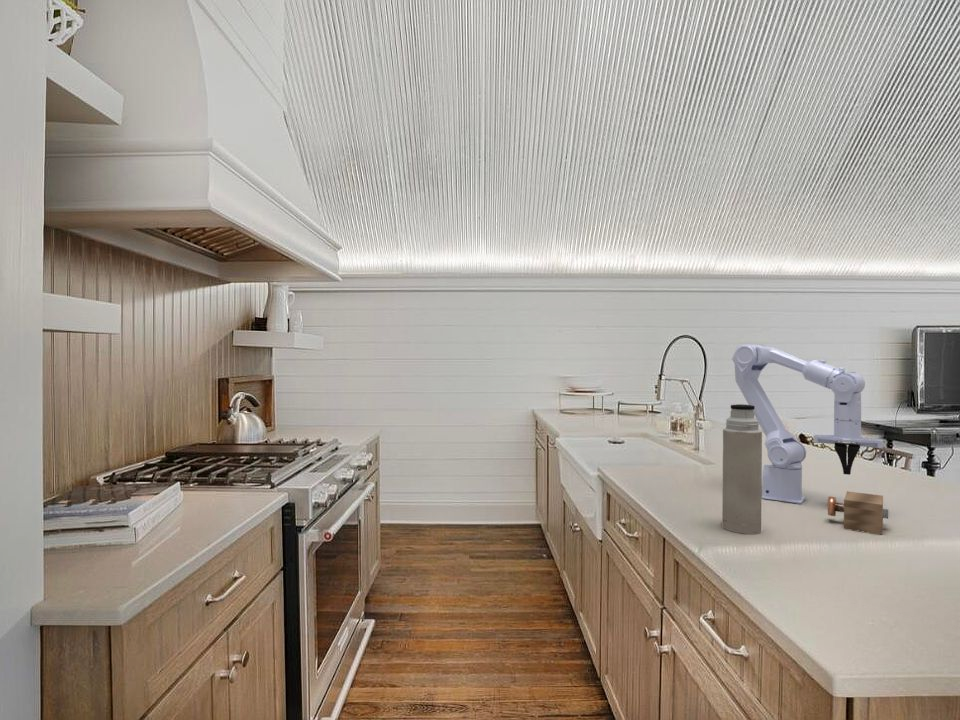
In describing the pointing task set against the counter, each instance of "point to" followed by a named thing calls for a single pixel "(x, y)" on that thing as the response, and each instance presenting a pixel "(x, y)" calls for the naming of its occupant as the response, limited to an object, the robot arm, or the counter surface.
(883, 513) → the copper capped shaft
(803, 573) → the counter surface
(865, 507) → the bearing block
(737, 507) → the thermos bottle
